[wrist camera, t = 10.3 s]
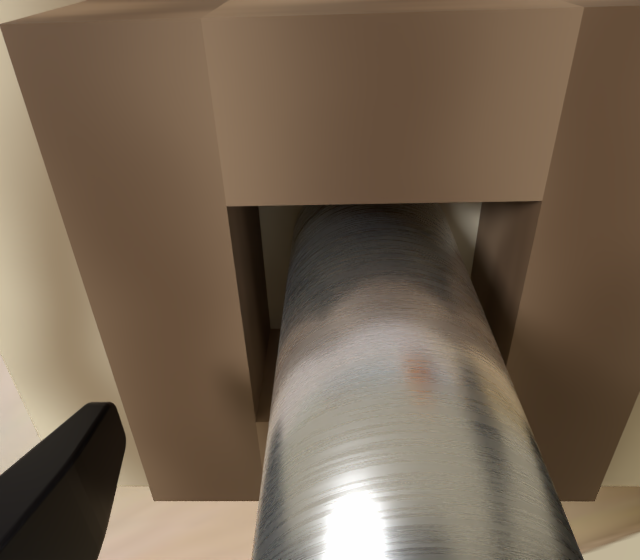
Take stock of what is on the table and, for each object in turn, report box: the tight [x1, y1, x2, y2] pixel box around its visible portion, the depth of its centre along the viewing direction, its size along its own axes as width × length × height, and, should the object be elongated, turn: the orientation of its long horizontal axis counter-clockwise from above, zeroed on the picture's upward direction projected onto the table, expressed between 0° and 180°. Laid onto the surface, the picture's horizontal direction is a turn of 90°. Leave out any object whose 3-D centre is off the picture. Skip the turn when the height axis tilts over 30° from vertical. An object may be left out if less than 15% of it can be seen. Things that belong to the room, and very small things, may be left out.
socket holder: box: [0, 0, 640, 501], centre depth 13 cm, size 22×20×4 cm
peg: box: [252, 203, 584, 560], centre depth 10 cm, size 4×4×10 cm
